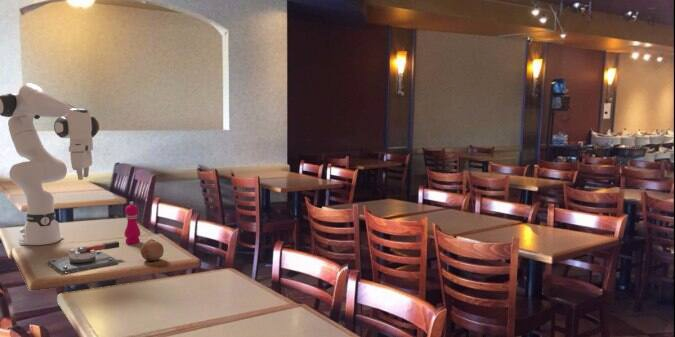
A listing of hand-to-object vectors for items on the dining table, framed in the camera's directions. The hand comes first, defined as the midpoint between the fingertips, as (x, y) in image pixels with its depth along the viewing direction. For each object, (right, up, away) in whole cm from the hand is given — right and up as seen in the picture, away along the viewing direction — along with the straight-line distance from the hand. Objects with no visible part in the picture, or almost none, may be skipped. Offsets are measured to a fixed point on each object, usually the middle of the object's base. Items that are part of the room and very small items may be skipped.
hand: (83, 178), depth 241 cm
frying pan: (+7, -33, -4) cm, 34 cm away
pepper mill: (+11, -32, +28) cm, 43 cm away
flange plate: (+3, -36, -7) cm, 36 cm away
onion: (+30, -36, -1) cm, 46 cm away
